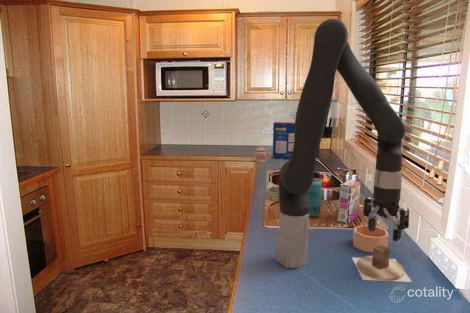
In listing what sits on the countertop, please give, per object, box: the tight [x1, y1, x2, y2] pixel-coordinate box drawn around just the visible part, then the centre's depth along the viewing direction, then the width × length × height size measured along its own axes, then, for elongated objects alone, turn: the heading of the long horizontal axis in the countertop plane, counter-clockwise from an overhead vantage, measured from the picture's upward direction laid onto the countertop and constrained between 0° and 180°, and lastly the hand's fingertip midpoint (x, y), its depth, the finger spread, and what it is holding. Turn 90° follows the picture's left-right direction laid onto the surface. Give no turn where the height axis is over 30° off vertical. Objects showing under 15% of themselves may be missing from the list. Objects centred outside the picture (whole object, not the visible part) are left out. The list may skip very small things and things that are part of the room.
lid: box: [356, 245, 405, 280], centre depth 112 cm, size 14×14×7 cm
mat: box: [351, 257, 413, 283], centre depth 112 cm, size 14×14×1 cm
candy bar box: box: [336, 179, 362, 225], centre depth 154 cm, size 11×5×16 cm, turn 141°
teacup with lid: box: [254, 145, 272, 163], centre depth 272 cm, size 12×9×12 cm
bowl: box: [352, 224, 390, 254], centre depth 128 cm, size 11×11×6 cm
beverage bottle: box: [308, 171, 323, 217], centre depth 156 cm, size 6×7×20 cm
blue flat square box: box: [272, 121, 295, 160], centre depth 282 cm, size 28×8×28 cm, turn 81°
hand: (383, 235), depth 110 cm, fingers open, 8 cm apart
